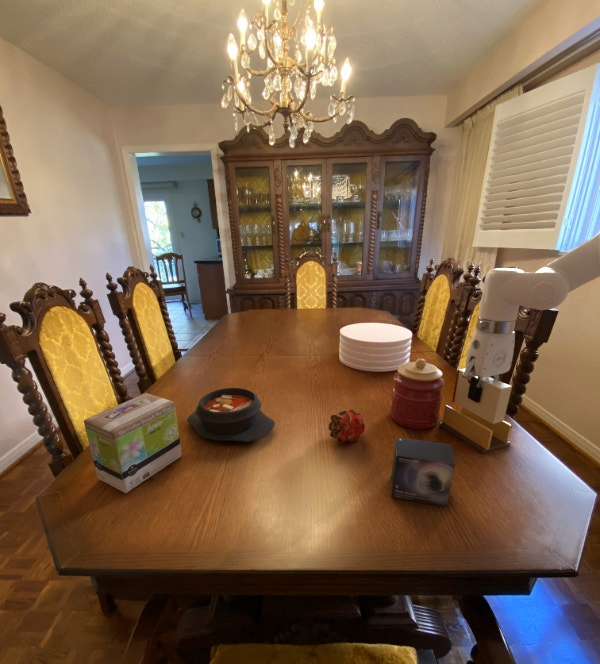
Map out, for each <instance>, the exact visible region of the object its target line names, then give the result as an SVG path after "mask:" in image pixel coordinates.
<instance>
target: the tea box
mask: <svg viewBox="0 0 600 664" xmlns="http://www.w3.org/2000/svg"><path fill="white" fill-rule="evenodd" d="M83 423H84V429H85V433H86V437H87V442H88V445H89V450H90V454H91V458H92V462H93V465H94V470H95V474H96V477H97V479H98V480H100V481H101V482H103V483H105V484H107V485H109V486H110V487H113V488H115V489H116V490H118V491H120V492H122V493H125V494H128V493H129V492H130V491H132V490H133V489H134V488H136V487H138V486H139V485H140V484H142V483H143V482H145V481H146V480H148V479H150V478H151V477H152V476H154V475H156V474H157V473H159V472H161V470H163V469H165V468H166V467H167V466H169V465H170V464H172V463H174V462H176V461H177V460H178V459H180V458H181V457H182V456H183V454H182V453H183V452H182V445H181V438H180V431H179V425H178V417H177V411H176V404H175V401H174V400H173V401H172V400H170V399H167V398H163V397H160V396H157V395H154V394H150V393H148V392H144V393H142V394H140V395H138V396H136V397H133V398H130V399H129V400H126V401H125V402H122V403H120V404H118V405H115V406H113V407H111V408H108V409H105V410H103V411H101V412H99V413H97V414H94V415H92V416H90V417H88V418H85V419H83Z"/></svg>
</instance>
